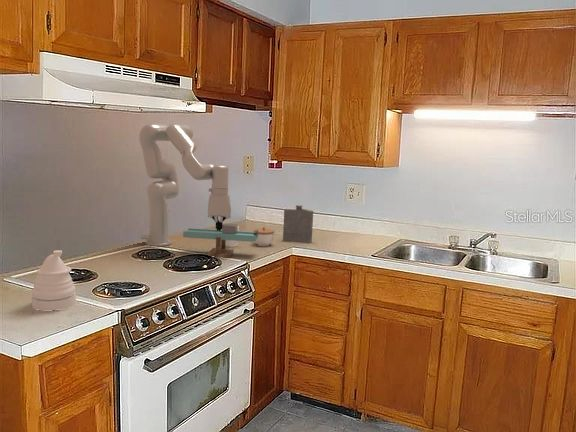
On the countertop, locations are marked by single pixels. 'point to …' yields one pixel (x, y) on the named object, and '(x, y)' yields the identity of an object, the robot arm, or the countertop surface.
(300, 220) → the hip flask
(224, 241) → the stand
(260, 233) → the lidded jar
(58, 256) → the honey pot
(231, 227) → the block
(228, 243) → the white cup
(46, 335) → the countertop surface
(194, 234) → the beam
